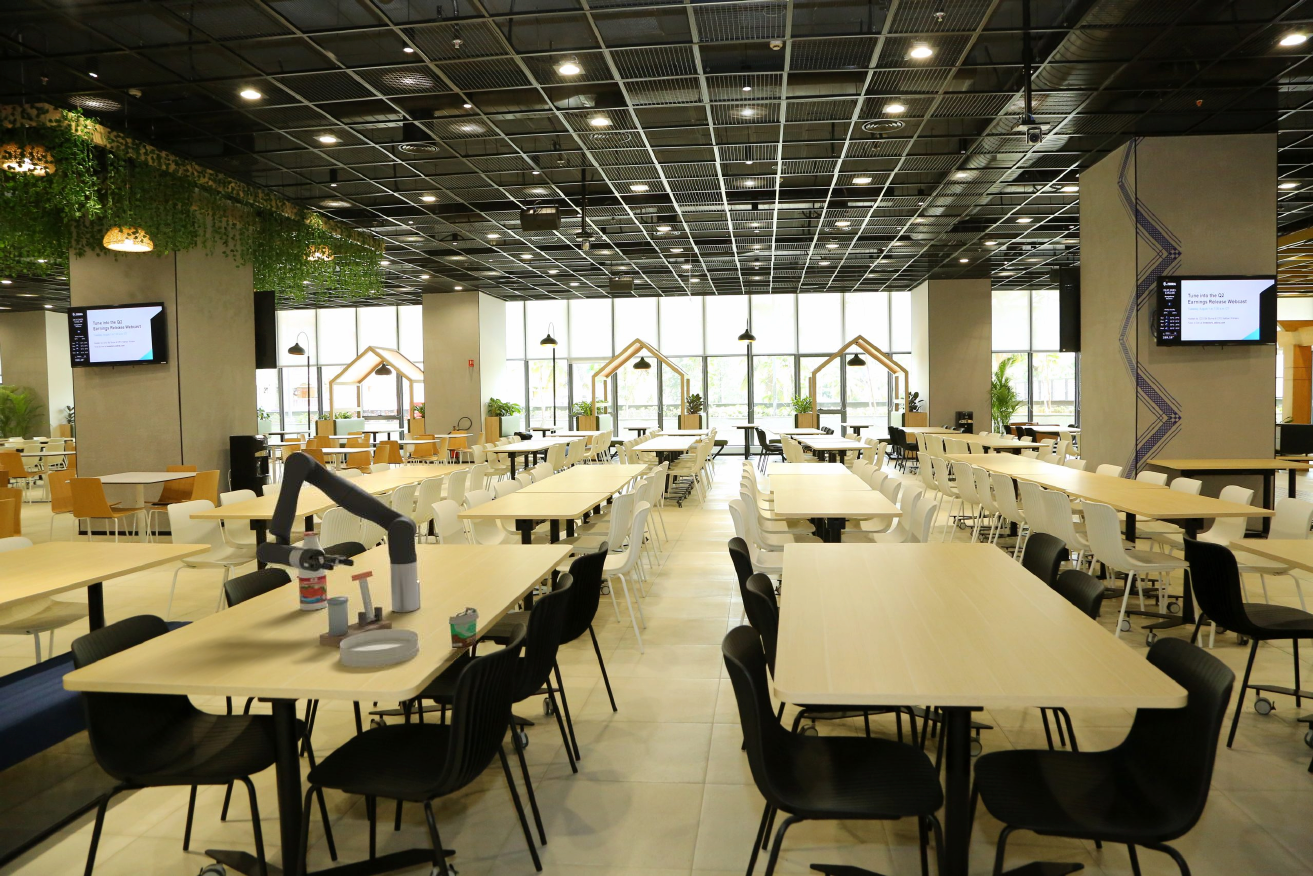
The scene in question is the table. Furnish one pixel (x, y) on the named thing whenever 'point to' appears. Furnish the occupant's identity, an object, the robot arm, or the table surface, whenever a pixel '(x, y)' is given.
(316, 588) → the fruit juice
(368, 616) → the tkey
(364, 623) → the housing
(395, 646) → the dish
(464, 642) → the food container
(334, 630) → the grey canister
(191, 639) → the table surface
